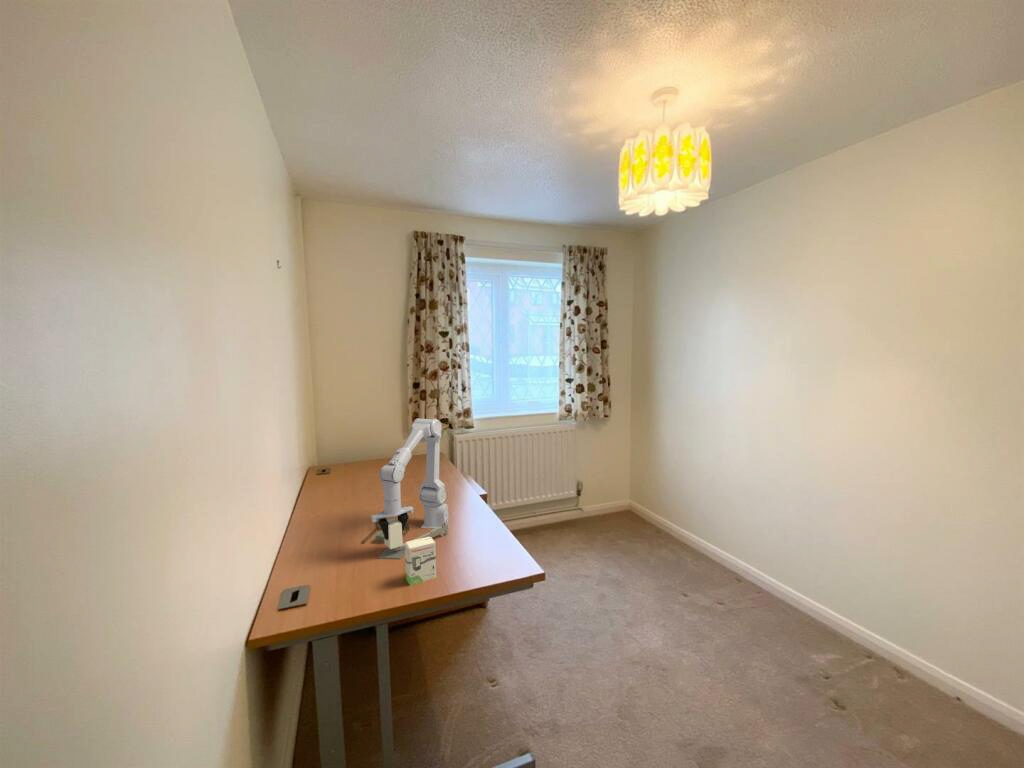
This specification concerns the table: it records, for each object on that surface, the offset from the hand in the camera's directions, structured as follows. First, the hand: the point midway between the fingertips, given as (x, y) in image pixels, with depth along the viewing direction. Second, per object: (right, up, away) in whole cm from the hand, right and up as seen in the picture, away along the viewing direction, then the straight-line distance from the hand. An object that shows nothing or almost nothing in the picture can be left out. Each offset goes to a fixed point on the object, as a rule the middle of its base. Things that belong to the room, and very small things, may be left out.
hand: (393, 536), depth 142 cm
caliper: (+8, -6, +7) cm, 12 cm away
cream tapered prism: (0, -3, 0) cm, 3 cm away
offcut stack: (-7, -6, +9) cm, 13 cm away
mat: (0, -6, 0) cm, 6 cm away
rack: (-6, -6, +13) cm, 16 cm away
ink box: (+13, -7, -16) cm, 22 cm away
